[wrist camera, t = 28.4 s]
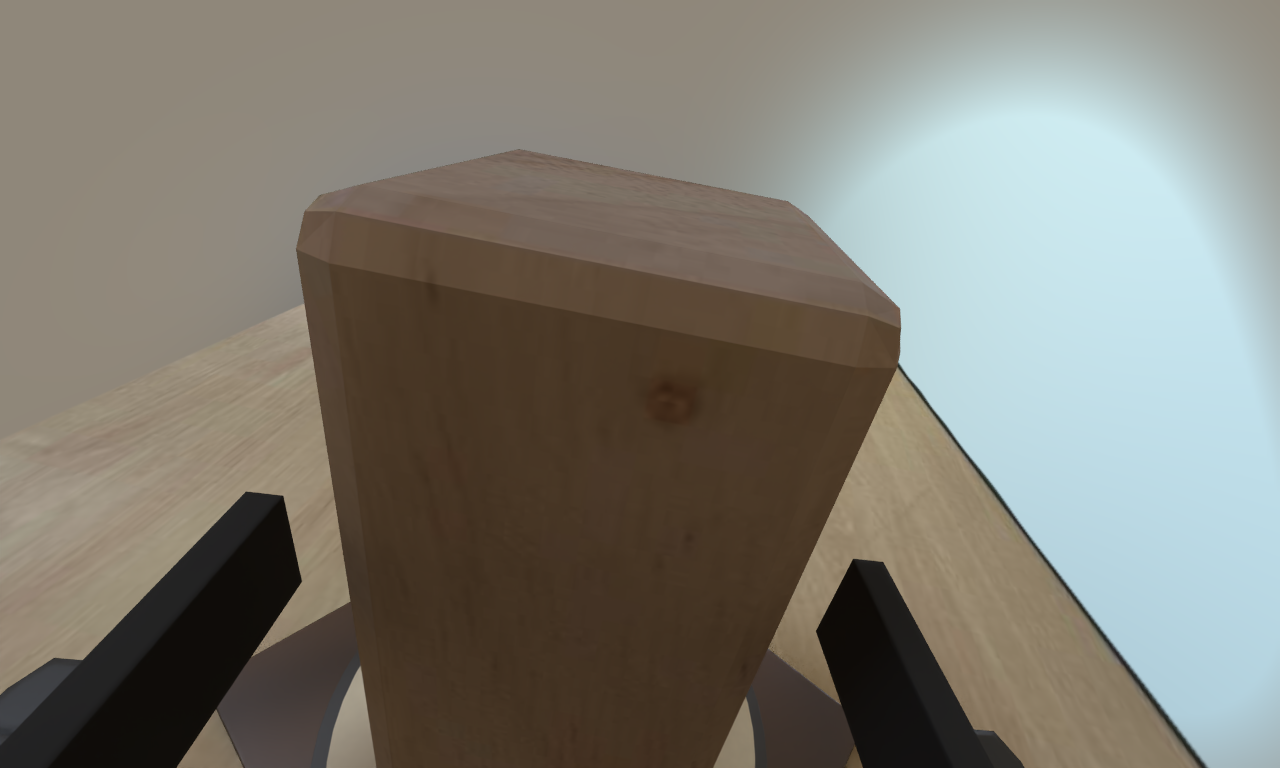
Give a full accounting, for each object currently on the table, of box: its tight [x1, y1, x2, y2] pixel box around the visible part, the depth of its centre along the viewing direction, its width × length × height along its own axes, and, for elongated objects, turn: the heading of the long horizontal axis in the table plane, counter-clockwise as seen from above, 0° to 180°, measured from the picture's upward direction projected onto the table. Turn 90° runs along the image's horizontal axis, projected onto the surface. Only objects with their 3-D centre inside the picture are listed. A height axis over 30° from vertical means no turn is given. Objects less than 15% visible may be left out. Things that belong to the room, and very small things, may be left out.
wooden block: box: [296, 149, 901, 768], centre depth 16 cm, size 10×10×20 cm
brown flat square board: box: [216, 602, 855, 768], centre depth 21 cm, size 20×18×1 cm
